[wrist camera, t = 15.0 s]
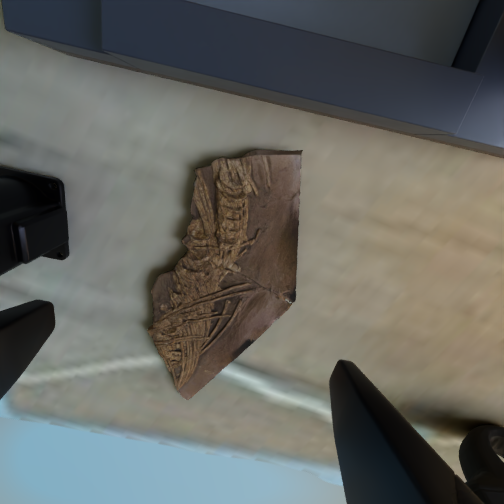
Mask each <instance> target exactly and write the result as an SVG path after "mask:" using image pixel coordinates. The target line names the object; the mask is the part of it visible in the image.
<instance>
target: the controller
mask: <svg viewBox="0 0 504 504" xmlns="http://www.w3.org/2000/svg"><path fill="white" fill-rule="evenodd" d="M497 454H498V455H499V456H501V457H503V458H504V427H500V426H494V425H483V426H478V427H476V428H474V429H472V430H471V431H470V432H469V433H468V434H467V436H466V437H465V438H464V440H463V441H462V443H461V445H460V449H459V460H460V464H461V468H462V470H463V473H464V476H465V478H466V480H467V482H466V483H465V484H466V485H467V486H468V487H469V488H470V489H471V490H472V491H473V492H474V494H475V495H476V496H477V497H478V498H479V499H480V500H481V501H482V502H483V503H484V504H504V462H503V461H502V460H501V459H500V458H499V457H498V455H497Z"/></svg>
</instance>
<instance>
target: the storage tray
mask: <svg viewBox="0 0 504 504" xmlns="http://www.w3.org/2000/svg"><path fill="white" fill-rule="evenodd" d="M1 1H2V9H3V17H4V24H5V29H6V30H7V31H9V32H11V33H14V34H16V35H19V36H21V37H24V38H26V39H29V40H32V41H34V42H37V43H39V44H42V45H44V46H47V47H49V48H52V49H54V50H57V51H59V52H62V53H65V54H67V55H70V56H74V57H78V58H83V59H87V60H91V61H95V62H100V63H104V64H108V65H112V66H117V67H121V68H125V69H129V70H133V71H138V72H142V73H146V74H150V75H155V76H159V77H163V78H167V79H172V80H176V81H180V82H184V83H189V84H193V85H197V86H201V87H205V88H210V89H214V90H218V91H222V92H227V93H231V94H235V95H239V96H244V97H248V98H252V99H256V100H260V101H265V102H269V103H273V104H277V105H282V106H286V107H290V108H294V109H299V110H303V111H307V112H311V113H316V114H320V115H324V116H328V117H332V118H337V119H341V120H345V121H349V122H354V123H358V124H362V125H366V126H371V127H375V128H379V129H383V130H388V131H392V132H396V133H400V134H404V135H409V136H413V137H417V138H421V139H426V140H430V141H434V142H438V143H443V144H447V145H451V146H455V147H459V148H464V149H468V150H472V151H476V152H481V153H485V154H489V155H493V156H498V157H502V158H504V0H1Z"/></svg>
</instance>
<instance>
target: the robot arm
mask: <svg viewBox="0 0 504 504" xmlns="http://www.w3.org/2000/svg"><path fill="white" fill-rule="evenodd" d="M54 183H55V184H56V185H57V188H56V187H55V186H54ZM68 240H69V236H68V222H67V211H66V205H65V191H64V184H63V182H62V181H61V180H60V179H58V178H54V177H49V176H45V175H40V174H35V173H31V172H26V171H21V170H17V169H12V168H8V167H3V166H0V276H1V275H2V274H4V273H6V272H8V271H10V270H12V269H14V268H15V267H17V266H19V265H21V264H23V263H24V264H27V263H29V262H31V261H33V260H35V259H37V258H38V257H40V256H43V257H48V258H53V259H57V260H64V259H66V258H67V257H68V256H69V245H68ZM60 252H61V253H62V254H63V255H61V254H60ZM54 328H55V314H54V306H53V304H52V303H51V302H49V301H43V300H34V301H31V302H28V303H24V304H21V305H18V306H15V307H12V308H9V309H6V310H3V311H0V399H1V398H2V397H3V396H4V395H5V394H6V393H7V391H8V390H9V389H10V388H11V387H12V386H13V384H14V383H15V382H16V381H17V380H18V378H19V377H20V376H21V375H22V373H23V372H24V371H25V369H26V368H27V367H28V365H29V364H30V362H31V361H32V360H33V358H34V357H35V355H36V354H37V353H38V351H39V350H40V348H41V347H42V346H43V344H44V343H45V342H46V340H47V339H48V337H49V336H50V335H51V333H52V332H53V330H54ZM329 386H330V398H331V409H332V420H333V430H334V438H335V444H336V449H337V455H338V460H339V465H340V470H341V475H342V481H343V486H344V491H345V496H346V502H347V504H484V503H483V502H482V501H481V500H480V499H479V498H478V497H477V496H476V495H475V494H474V492H473V491H472V490H471V489H470V488H469V487H468V486H467V485H466V484H465V483H464V482H463V481H462V480H461V478H460V477H459V476H458V475H455V474H454V471H453V470H452V469H451V468H450V467H449V466H448V465H447V463H446V462H445V461H444V460H443V459H442V458H441V457H440V456H439V455H438V454H437V453H436V452H435V450H434V449H433V448H432V447H431V446H430V445H429V444H428V443H427V442H426V441H425V440H424V439H423V437H422V436H421V435H420V434H419V433H418V432H417V431H416V430H415V429H414V428H413V427H412V426H411V425H410V423H409V422H408V421H407V420H406V419H405V418H404V417H403V416H402V415H401V414H400V413H399V412H398V410H397V409H396V408H395V407H394V406H393V405H392V404H391V403H390V402H389V401H388V400H387V399H386V397H385V396H384V395H383V394H382V393H381V392H380V391H379V390H378V389H377V388H376V387H375V386H374V385H373V383H372V382H371V381H370V380H369V379H368V378H367V377H366V376H365V375H364V374H363V373H362V372H361V370H360V369H359V368H358V367H357V366H356V365H355V364H354V363H353V362H351V361H346V360H339V361H338V362H337V364H336V366H335V368H334V370H333V372H332V375H331V377H330V381H329Z"/></svg>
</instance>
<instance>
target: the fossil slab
mask: <svg viewBox="0 0 504 504" xmlns="http://www.w3.org/2000/svg"><path fill="white" fill-rule="evenodd" d="M302 151H303V150H300V151H298V150H297V151H282V150H281V151H270V150H253V151H251V152H248V153H246V154H245V155H244V156H243V157H238V158H224V157H220V158H218V159H216V160H215V161H214V162H212V164H211V165H210V166H205V167H200V168H196V169H194V171H195V173H196V175H197V176H196V179H195V182H194V184H193V185H194V187H195V188H194V195H193V198H192V200H191V207H190V208H191V214H192V216H193V218H192V220H191V221H190V225H189V226H188V229H187V233H186V235H185V236H184V237H183V239H182V241H181V242H182V244H185V245H186V247H187V248H188V249H189V250H188V251H187V252H186V253H185V255H184V256H183V257H182V258H181V259H180V260H179V261H178V263H177V266H176V267H175V270H171V271H168V272H166V273H164V274H160V275H159V276H158V278H157V279H156V281H155V283H154V285H153V288H152V290H151V294H152V298H153V307H154V309H153V313H154V317H153V325H151V326H150V327H149V328H148V330H147V332H148V333H149V335H150V336H151V337H152V338H153V340H154V344H155V346H156V347H157V350H158V353H159V355H160V356H161V357H162V358H163V359H164V361H165V364H166V366H167V368H168V370H169V371H170V372H171V374H172V376H173V378H174V384H175V386H176V388H177V390H178V391H179V393H180V395H181V396H182V397H183V398H185V399H186V400H189V399H190V398H192V397H193V396H194V395H195V394H196V393H197V392H198V391H199V390H200V389H202V388H203V387H204V386H205V385H206V384H207V383H208V382H209V381H210V380H211V379H213V378H214V377H215V376H216V375H217V374H218V373H219V372H220V371H221V370H222V369H224V368H225V367H226V366H227V365H228V364H229V363H230V362H232V361H233V360H234V359H236V358H237V357H238V356H239V355H240V354H241V353H242V352H243V351H244V350H245V349H247V348H248V347H249V346H250V345H251V344H252V343H253V342H254V341H256V339H257V338H259V337H260V336H261V335H262V334H263V333H264V332H265V331H266V330H267V329H268V328H269V327H270V326H271V325H272V323H273V322H274V321H275V320H277V319H279V318H280V317H281V316H282V315H283V314H284V313H285V312H286V311H287V310H288V309H289V308H290V306H291V305H292V303H293V302H295V300H296V291H295V289H296V270H297V247H298V225H299V220H298V218H299V208H298V207H299V204H300V200H299V195H300V177H301V174H300V169H301V154H302ZM285 299H288V300H289V302H290V301H291V302H292V303H291V304H289V303H288V302H287V301H285Z"/></svg>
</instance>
